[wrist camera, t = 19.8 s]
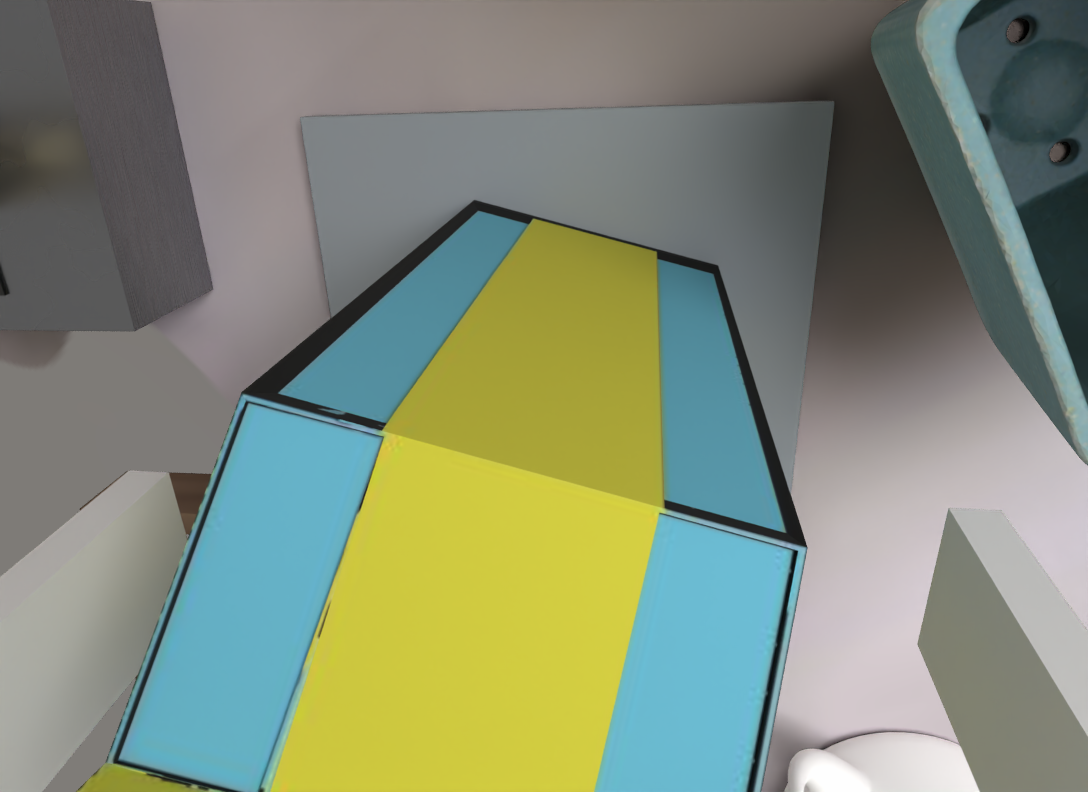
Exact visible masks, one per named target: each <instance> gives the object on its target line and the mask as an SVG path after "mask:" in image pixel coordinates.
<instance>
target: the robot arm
mask: <svg viewBox="0 0 1088 792" xmlns="http://www.w3.org/2000/svg"><path fill="white" fill-rule="evenodd" d="M186 542H187V536H186V532H185V529H184V525H183V522H182V518H181V515H180V511H179V507H178V504H177V500H176V497H175V493H174V490H173V486H172V482H171V479H170V475H169V472H152V471H133V470H129V471H128V472H127V473H126V474H124V475H123V476H122V477H121V478H119V479H118V480H117V481H116V482H115V483H113V484H112V485H111V486H110V487H109V488H107V489H106V490H105V491H104V492H102V493H101V494H100V495H99V496H98V497H96V498H95V499H94V500H93V501H92V502H90V503H89V504H88V505H87V506H85V507H84V508H83V509H82V510H81V511H79V512H78V513H77V514H76V515H75V516H73V517H72V518H71V519H70V520H69V521H67V522H66V523H65V524H64V525H62V526H61V527H60V528H59V529H58V530H56V531H55V532H54V533H53V534H52V535H50V536H49V537H48V538H47V539H46V540H44V541H43V542H42V543H41V544H40V545H38V546H37V547H36V548H35V549H33V550H32V551H31V552H30V553H28V554H27V555H26V556H25V557H24V558H22V559H21V560H20V561H19V562H17V563H16V564H15V565H14V566H13V567H11V568H10V569H9V570H8V571H7V572H5V573H4V574H3V575H2V576H0V792H43V790H44V789H45V788H46V787H47V785H48V784H49V783H50V782H51V781H52V779H53V778H54V777H55V775H56V774H57V773H58V772H59V771H60V769H61V768H62V767H63V765H65V763H66V762H67V761H68V760H69V758H70V757H71V756H72V755H73V753H74V752H75V751H76V750H77V749H78V747H79V746H80V745H81V743H82V742H83V741H84V740H85V739H86V738H87V736H88V735H89V734H90V732H91V731H92V730H93V729H94V728H95V726H96V725H97V724H98V723H99V722H100V720H101V719H102V718H103V717H104V715H105V714H106V713H107V712H108V711H109V709H110V708H111V707H112V706H113V704H114V703H115V702H116V701H117V699H118V698H119V697H120V696H121V695H122V693H123V692H124V691H125V690H126V688H127V687H128V686H129V685H130V684H131V682H132V681H133V680H134V678H135V677H136V676H137V675H138V673H139V670H140V667H141V665H142V662H143V659H144V657H145V654H146V651H147V648H148V646H149V643H150V640H151V638H152V635H153V632H154V629H155V627H156V624H157V621H158V619H159V616H160V613H161V610H162V608H163V605H164V602H165V600H166V597H167V594H168V591H169V589H170V586H171V583H172V581H173V578H174V575H175V572H176V570H177V567H178V564H179V561H180V559H181V556H182V553H183V551H184V548H185V545H186ZM918 647H919V649H920V651H921V654H922V656H923V658H924V661H925V663H926V666H927V668H928V670H929V673H930V675H931V677H932V680H933V682H934V685H935V687H936V689H937V692H938V694H939V696H940V699H941V701H942V703H943V706H944V708H945V711H946V713H947V715H948V718H949V720H950V722H951V725H952V727H953V730H954V732H955V734H956V737H957V739H958V741H959V744H960V746H961V749H962V751H963V753H964V756H965V758H966V760H967V763H968V765H969V768H970V770H971V772H972V775H973V777H974V779H975V782H976V784H977V786H978V789H979V791H980V792H1088V630H1087V629H1086V628H1085V626H1084V625H1083V623H1082V622H1081V621H1080V619H1079V618H1078V617H1077V615H1076V614H1075V612H1074V611H1073V610H1072V608H1071V607H1070V605H1069V604H1068V603H1067V601H1066V600H1065V598H1064V597H1063V596H1062V594H1061V593H1060V591H1059V590H1058V589H1057V587H1056V586H1055V584H1054V583H1053V582H1052V580H1051V579H1050V577H1049V576H1048V575H1047V573H1046V572H1045V570H1044V569H1043V568H1042V566H1041V565H1040V563H1039V562H1038V561H1037V559H1036V558H1035V556H1034V555H1033V554H1032V552H1031V551H1030V549H1029V548H1028V547H1027V545H1026V544H1025V543H1024V541H1023V540H1022V538H1021V537H1020V536H1019V534H1018V533H1017V531H1016V530H1015V529H1014V527H1013V526H1012V524H1011V523H1010V522H1009V520H1008V519H1007V517H1006V516H1005V515H1004V513H1003V512H1002V511H1001V510H980V509H958V508H949V509H948V513H947V518H946V522H945V526H944V531H943V535H942V539H941V544H940V548H939V552H938V557H937V561H936V566H935V570H934V574H933V579H932V583H931V587H930V592H929V596H928V600H927V605H926V609H925V613H924V618H923V622H922V627H921V631H920V635H919V640H918Z"/></svg>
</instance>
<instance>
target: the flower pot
mask: <svg viewBox="0 0 1088 792" xmlns="http://www.w3.org/2000/svg"><path fill="white" fill-rule="evenodd" d="M1017 18H1021V19H1025V20H1027V21H1028V22H1029V25H1030V26H1029V32H1028V34H1027V36H1026V37H1025V39H1024V40H1022V41H1020V42H1019V43H1012V42H1010V41H1009V40H1008V38H1007V33H1006V32H1007V29H1008V26H1009V25H1010V23H1011V22H1012V21H1013V20H1015V19H1017ZM871 52H872V55H873V58H874V61H875V64H876V67H877V69H878V71H879V73H880V76H881V78H882V80H883V83H884V85H885V87H886V89H887V92H888V94H889V96H890V99H891V101H892V103H893V106H894V108H895V110H896V113H897V115H898V117H899V120H900V122H901V124H902V126H903V129H904V131H905V133H906V136H907V138H908V140H909V143H910V145H911V147H912V150H913V152H914V154H915V157H916V159H917V162H918V164H919V166H920V169H921V171H922V174H923V176H924V178H925V181H926V183H927V186H928V188H929V190H930V193H931V195H932V198H933V200H934V202H935V205H936V207H937V210H938V212H939V215H940V217H941V220H942V222H943V225H944V227H945V230H946V232H947V234H948V237H949V239H950V242H951V244H952V247H953V249H954V252H955V254H956V257H957V259H958V262H959V264H960V267H961V269H962V272H963V274H964V277H965V279H966V282H967V285H968V287H969V290H970V292H971V295H972V298H973V300H974V303H975V305H976V308H977V310H978V312H979V315H980V317H981V319H982V321H983V323H984V326H985V328H986V330H987V331H988V333H989V335H990V337H991V339H992V340H993V342H994V343H995V345H996V347H997V348H998V349H999V351H1000V352H1001V354H1002V355H1003V356H1004V358H1005V359H1006V361H1007V362H1008V363H1009V365H1010V366H1011V367H1012V369H1013V370H1014V371H1015V373H1016V374H1017V375H1018V377H1019V378H1020V379H1021V381H1022V382H1023V383H1024V385H1025V386H1026V387H1027V389H1028V390H1029V391H1030V393H1031V394H1032V396H1033V397H1034V398H1035V400H1036V401H1037V402H1038V404H1039V405H1040V406H1041V408H1042V409H1043V410H1044V412H1045V413H1046V414H1047V416H1048V417H1049V418H1050V420H1051V421H1052V422H1053V424H1054V425H1055V426H1056V428H1057V429H1058V430H1059V432H1060V433H1061V434H1062V435H1063V437H1064V438H1065V439H1066V441H1067V442H1068V443H1069V445H1070V446H1071V447H1072V448H1073V450H1074V451H1075V452H1076V454H1077V455H1078V456H1079V458H1080V459H1081V460H1082V461H1083V462H1084V463H1085V464H1087V465H1088V0H909V1H907V2H905V3H904V4H902V5H901V6H899V7H898V8H896V9H895V10H893V11H892V12H890V13H889V14H887V15H886V16H885V17H884V18H883V19H882V20H881V21H880V22H879V23H878V25H877V26H876V28H875V30H874V31H873V35H872V38H871ZM981 120H982V122H983V124H982V122H981ZM1058 142H1067V143H1069V144H1070V146H1071V152H1070V154H1069V156H1068V157H1067V158H1066V159H1065V160H1063V161H1061V162H1053V161H1051V159H1050V157H1049V153H1050V150H1051V148H1052V147H1053V146H1054V144H1056V143H1058Z"/></svg>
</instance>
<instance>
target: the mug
mask: <svg viewBox="0 0 1088 792" xmlns="http://www.w3.org/2000/svg"><path fill="white" fill-rule="evenodd" d="M784 792H980V791H979V789H978V786H977V784H976V782H975V779H974V777H973V775H972V772H971V770H970V768H969V765H968V763H967V760H966V758H965V756H964V753H963V751H962V749H961V746H960V745H958V744H956V743H953V742H951V741H948V740H945V739H941V738H938V737H934V736H929V735H924V734H917V733H907V732H884V733H873V734H868V735H862V736H858V737H854V738H851V739H847V740H844V741H842V742H839V743H836V744H834V745H832V746H830V747H828V748H826V749H824V750H820V749H813V748H811V749H804V750H801V751H799V752H798V753H796V754H795V755H794V757H793V758H792V759H791V761H790V765H789V768H788V784H787V786H786V788H785V790H784Z"/></svg>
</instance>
